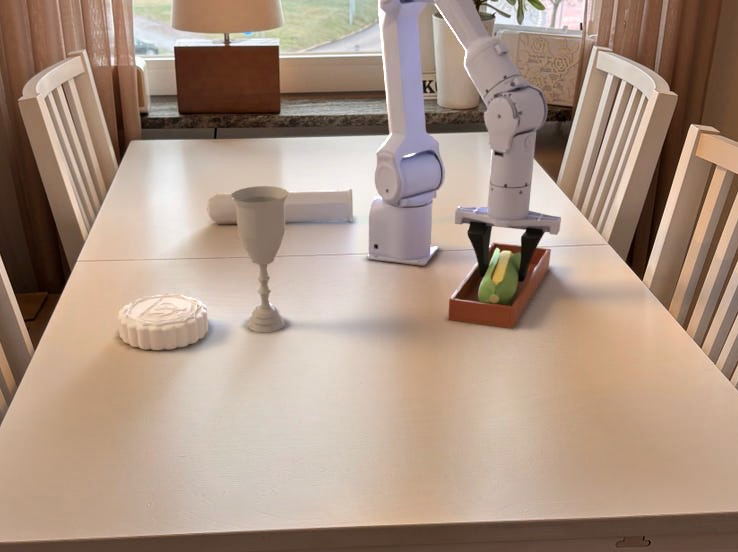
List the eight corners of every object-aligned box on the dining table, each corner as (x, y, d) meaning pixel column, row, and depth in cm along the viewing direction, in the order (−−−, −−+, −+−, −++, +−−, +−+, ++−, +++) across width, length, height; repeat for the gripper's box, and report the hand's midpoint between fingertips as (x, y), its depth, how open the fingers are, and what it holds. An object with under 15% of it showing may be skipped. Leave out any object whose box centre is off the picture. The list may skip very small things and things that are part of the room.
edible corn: (474, 315, 142) (475, 284, 139) (491, 262, 158) (493, 233, 155) (512, 318, 140) (514, 286, 138) (526, 264, 156) (528, 235, 154)
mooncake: (184, 356, 134) (181, 331, 132) (103, 344, 137) (99, 319, 135) (223, 320, 143) (221, 296, 141) (146, 310, 147) (143, 286, 145)
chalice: (252, 339, 138) (244, 205, 128) (231, 321, 143) (222, 191, 133) (301, 328, 141) (297, 196, 131) (279, 311, 146) (274, 183, 136)
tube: (204, 205, 174) (352, 201, 173) (206, 186, 177) (351, 182, 177) (207, 231, 178) (352, 227, 178) (209, 212, 181) (351, 208, 181)
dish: (448, 319, 142) (449, 299, 140) (491, 261, 161) (492, 242, 159) (512, 328, 139) (514, 308, 138) (548, 268, 158) (550, 248, 156)
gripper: (450, 185, 140) (446, 280, 148) (557, 195, 136) (547, 293, 143) (464, 171, 146) (459, 263, 153) (567, 180, 141) (557, 275, 149)
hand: (502, 276), depth 149 cm, fingers closed on edible corn, 5 cm apart
